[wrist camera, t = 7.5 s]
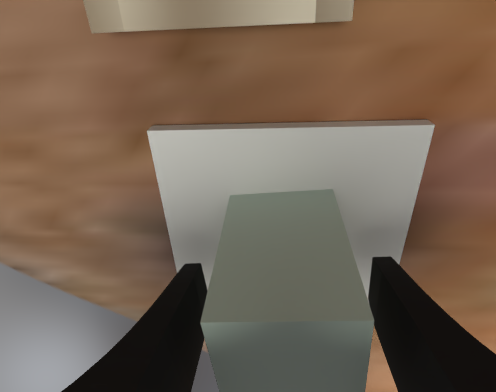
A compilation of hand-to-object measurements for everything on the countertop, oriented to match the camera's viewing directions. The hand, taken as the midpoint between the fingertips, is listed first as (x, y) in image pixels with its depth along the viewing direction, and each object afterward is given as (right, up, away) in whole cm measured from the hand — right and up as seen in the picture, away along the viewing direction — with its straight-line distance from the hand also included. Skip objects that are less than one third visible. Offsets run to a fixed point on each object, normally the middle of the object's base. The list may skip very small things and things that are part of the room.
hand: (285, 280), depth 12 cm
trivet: (0, +1, +3) cm, 3 cm away
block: (0, +1, +2) cm, 2 cm away
